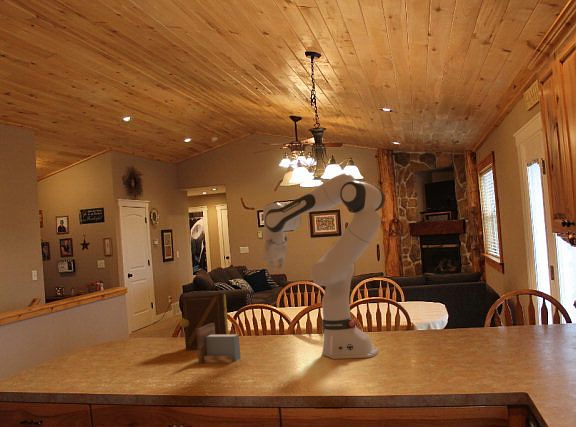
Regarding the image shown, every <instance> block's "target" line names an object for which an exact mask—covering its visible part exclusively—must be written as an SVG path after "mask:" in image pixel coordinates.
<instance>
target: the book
mask: <svg viewBox="0 0 576 427" xmlns="http://www.w3.org/2000/svg"><path fill="white" fill-rule="evenodd" d="M181 299H182V312H183V317H182V318H180V319H179V326H180V327H181V328H184V340H185V351H186V350H188V351H198V345H197V331H196V329H198V328H200V327H203V326H205V325H208V324H210V323H215V335H229V326H228V312H227V311H228V310H227V309H228V308H227V296H226V291H215V292H200V293H185V294H184V295H182V297H181Z"/></svg>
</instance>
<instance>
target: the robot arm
mask: <svg viewBox="0 0 576 427" xmlns="http://www.w3.org/2000/svg"><path fill="white" fill-rule="evenodd" d="M385 201H386V196H385V192H383V190H382V189H381V188H380V187H378V186H376V185H372V184H370V183H368V182H364V181H358V180H356V179H355V177H354V176H353V175H351V174H349V173H346V172H345V173H340V174H338V175H336V176H334V177H332V178H330V179H328V180H326V181H325V182H323V183H322V184H320V185H318V186H317V187H315V188H313V190H311V191H309V192H307V193H306V194H304V195H303V196H300V197H298V198H297V199H295V200H293V201H291V202H290V203H288V204H286V205H282V204H281V203H280V202H272V203H271V202H270V203H268V204H266V205H264V206H263V211H262V212H263V213H262V218H263V221H262V222H263V227H264V231H263V233H264V243H265V244H264V245H263V259H264V262H268V265H269V268H270V271H272V272H273V271H276V266H275V261H276V260H278V263H277V269H283V264H284V259H285V258H287V256H288V245H287V244H288V243H287V242H288V237H287V236H286V234H285V232H287V231H294V230H297V229H299V227H300V226H301V225H302V214H306V213H310V212H318V211H319V212H320V211H327V210H330V209H333V208H335V207H337V206H339V205H341V204H344V205H345V207H346V208H347V211H348V212H349V213H353V217H352V219H351V221H350V222H349V223H348V225H347V227H346V228H345V229H344V231H343V232H342V234H341V235H340V236H339V237H338V239H337V241H336V242H335V243H334V244H333V245H332V246H331V247H330V248H329V249H328V250H327V251H326V252H325V253H324V254H323V255H322V256H321V257H320V259H318V261H316V262H315V263H314V264H313V265H312V266H311V269H310V278H311V279H312V281H313V283H314V284H315V285H318V286H321V287H325V289H324V290H325V291H324V295H323V296H322V299H321V306H322V307H321V309H322V317H323V318H322V320H321V321H322V323H321V325H322V332H323V346H322V352H321V354H322V356H324V357H327V358H330V359H331V358H332V360H335V359H336V360H339V359H359V358H360V359H364V358H365V359H366V358H372V357H375V356H376V355H377V354H378V353H379V350H378V347H376V346H373V344H372V341H371V338H370V335H368V334H367V333H366V332H365V331H362V330H361V329H360V328H359V327H357V324H356V323H357V321H356V318H353V317H351V308H350V307H351V306H350V291H351V285H352V283H351V282H352V278H353V276H354V273H355V264H354V263H355V262H356V261H357V260H358V259H360V257H361V256H362V254H363V253H364V252H365V251H366V250H367V248H368V247H369V245H370V243H371V242H372V241H373V240H374V237H375V236H376V234H377V233H378V231H379V228H380V226H381V225H382V218H381V216H380V214H379V212H377V211H379V210H380V209H382V208H383V207H384V204H385Z"/></svg>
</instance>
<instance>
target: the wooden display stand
mask: <svg viewBox="0 0 576 427" xmlns="http://www.w3.org/2000/svg"><path fill="white" fill-rule="evenodd" d="M196 331H197V345H198V350H197V355H198V364H204V363H209V364H210V363H213V364H215V363H216V364H217V363H219V364H220V363H221V364H223V363H224V364H230V363H232V362H233V361H232V357H231V356H207V347H206V337H207V336H209V335H215V323H210V324H208V325H205V326H203V327H200V328H198V329H196Z"/></svg>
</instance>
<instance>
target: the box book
mask: <svg viewBox="0 0 576 427" xmlns="http://www.w3.org/2000/svg"><path fill="white" fill-rule="evenodd" d="M206 347H207V356H231V357H232V362H237V361H240V359H241V349H240V348H241V346H240V335H239V334H228V335H209V336H207V337H206Z"/></svg>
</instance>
